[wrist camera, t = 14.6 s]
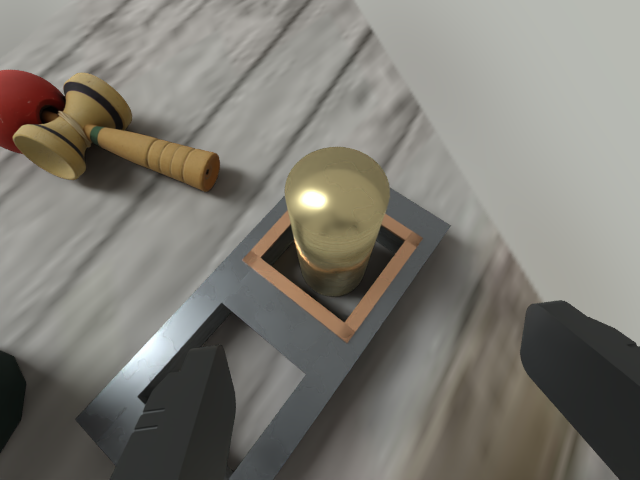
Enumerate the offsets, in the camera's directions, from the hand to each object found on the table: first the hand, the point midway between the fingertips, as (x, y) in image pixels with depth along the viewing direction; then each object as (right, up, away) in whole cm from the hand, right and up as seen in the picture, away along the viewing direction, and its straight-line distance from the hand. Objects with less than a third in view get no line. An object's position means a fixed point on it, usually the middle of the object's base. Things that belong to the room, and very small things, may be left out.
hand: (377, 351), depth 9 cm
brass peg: (-1, +1, +15) cm, 15 cm away
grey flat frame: (-4, -2, +13) cm, 14 cm away
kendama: (-18, +10, +19) cm, 28 cm away
